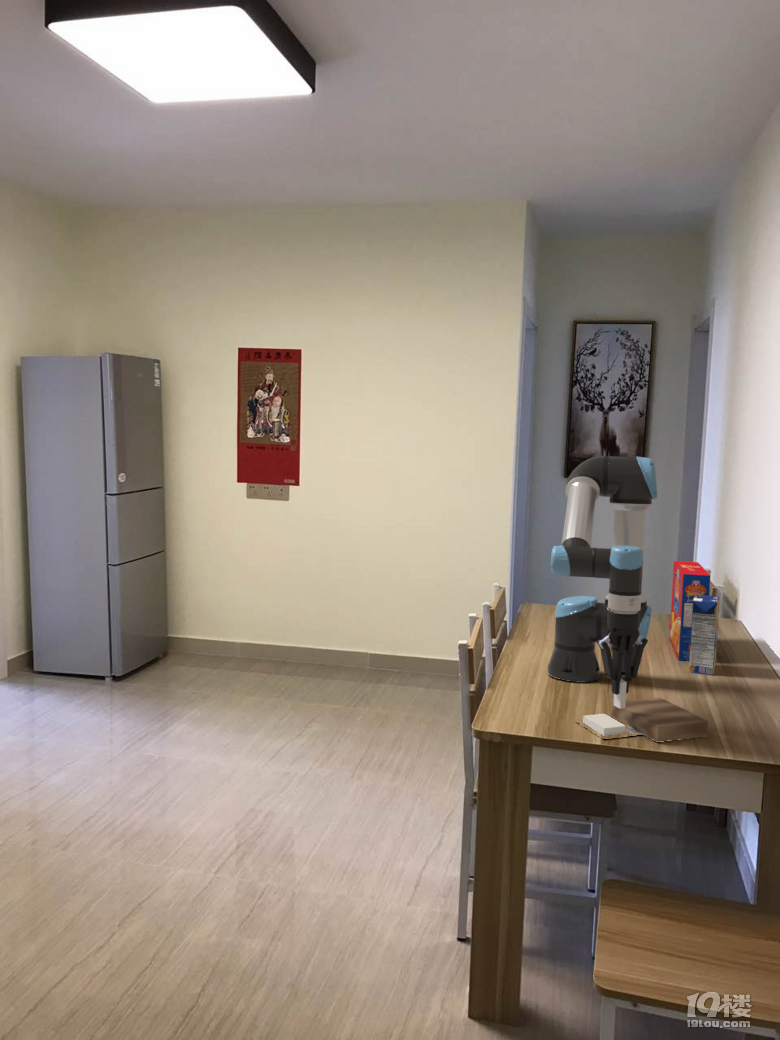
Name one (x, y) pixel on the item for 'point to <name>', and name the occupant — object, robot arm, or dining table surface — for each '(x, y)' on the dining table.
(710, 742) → the dining table surface
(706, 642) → the beverage box
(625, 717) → the brown wooden slab
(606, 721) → the white rectangular block
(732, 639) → the dining table surface
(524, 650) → the dining table surface
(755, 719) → the dining table surface
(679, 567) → the red blue cereal box
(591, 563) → the robot arm
